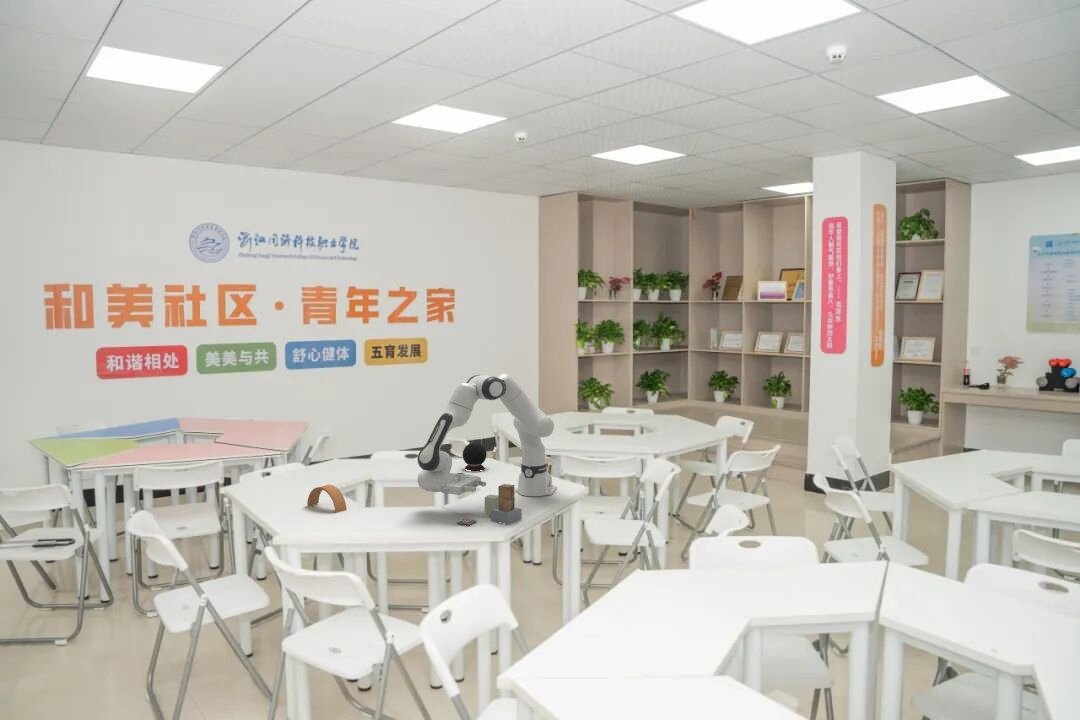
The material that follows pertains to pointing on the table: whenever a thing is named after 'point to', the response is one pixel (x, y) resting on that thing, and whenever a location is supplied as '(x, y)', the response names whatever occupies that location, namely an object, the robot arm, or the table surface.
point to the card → (466, 522)
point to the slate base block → (505, 515)
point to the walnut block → (506, 497)
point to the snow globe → (474, 456)
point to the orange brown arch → (334, 494)
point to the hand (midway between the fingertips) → (480, 486)
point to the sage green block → (491, 503)
